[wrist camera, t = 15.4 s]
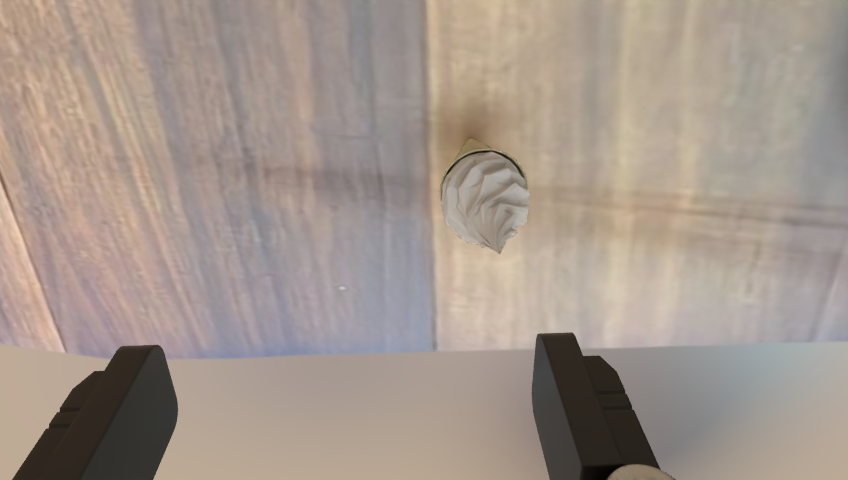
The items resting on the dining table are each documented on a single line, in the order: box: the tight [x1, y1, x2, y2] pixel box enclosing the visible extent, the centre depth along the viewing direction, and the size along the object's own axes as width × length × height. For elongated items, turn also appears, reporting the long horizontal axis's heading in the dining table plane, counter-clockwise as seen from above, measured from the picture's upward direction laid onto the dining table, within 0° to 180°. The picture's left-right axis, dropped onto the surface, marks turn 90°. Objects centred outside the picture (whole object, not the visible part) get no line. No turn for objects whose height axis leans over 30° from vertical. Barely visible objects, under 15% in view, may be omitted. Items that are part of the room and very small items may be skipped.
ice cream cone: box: [440, 138, 530, 253], centre depth 36 cm, size 5×5×15 cm
